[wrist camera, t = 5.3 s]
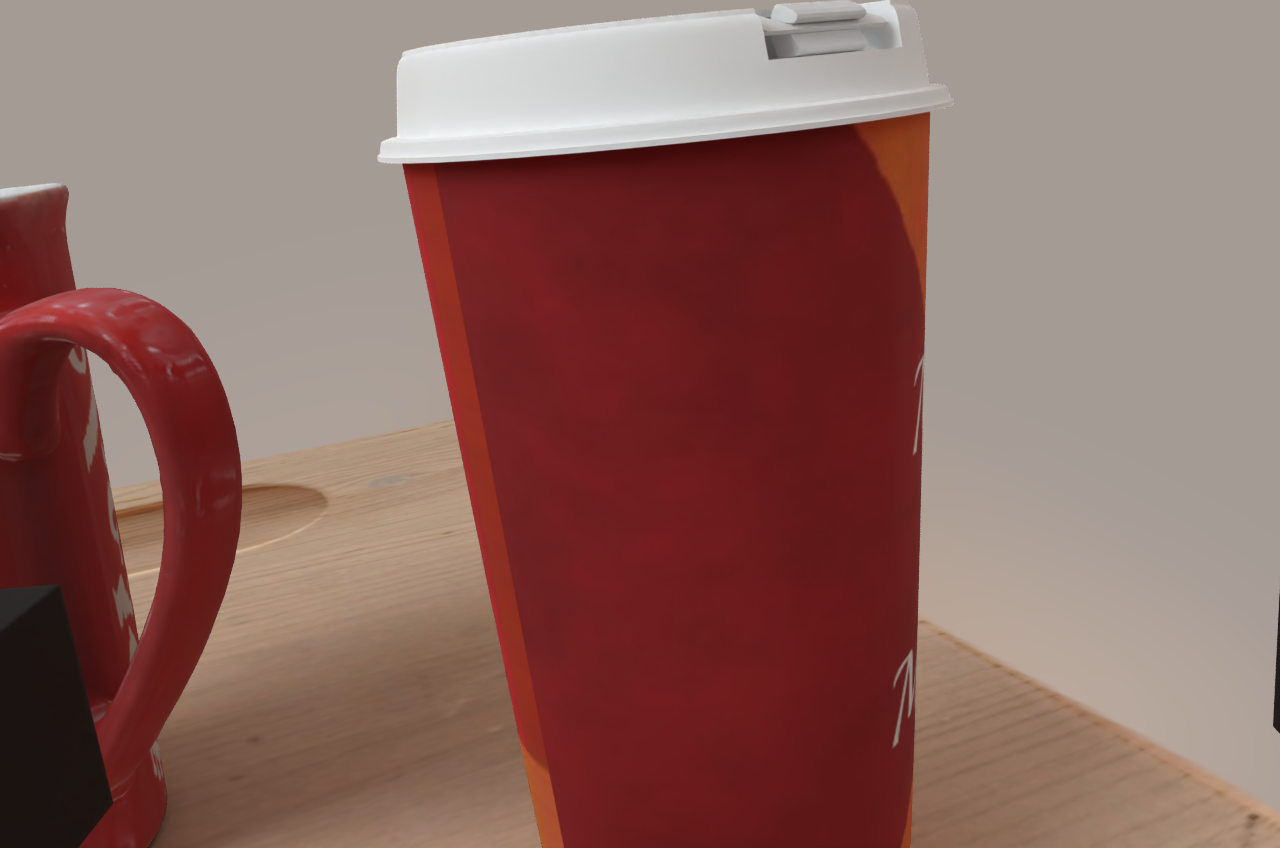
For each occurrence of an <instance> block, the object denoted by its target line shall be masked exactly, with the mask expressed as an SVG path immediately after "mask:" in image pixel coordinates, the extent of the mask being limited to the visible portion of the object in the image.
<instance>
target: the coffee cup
mask: <svg viewBox="0 0 1280 848" xmlns="http://www.w3.org/2000/svg"><path fill="white" fill-rule="evenodd" d="M909 3H910V1H909V0H884V1H877V2H870V3H863V4H857V3H855V2H853V1H849V0H839V1H838V0H837V1H820V2H804V3H787V4H777V5H775V6H774V9H773V10H761V11H755V10H754V8H748V9H736V10H725V11H714V12H704V13H693V14H683V15H672V16H663V17H653V18H643V19H634V20H624V21H615V22H606V23H597V24H588V25H579V26H570V27H562V28H554V29H546V30H537V31H529V32H522V33H513V34H506V35H498V36H491V37H483V38H477V39H470V40H463V41H456V42H450V43H444V44H437V45H432V46H426V47H421V48H416V49H412V50H408V51H405V52H403V53H402V59H401V60H400V61H399V63H398V67H397V137H393V138H390V139H387V140H385V141H382V142H381V146H380V154H379V155H377V160H378V161H379V162H382V163H402V164H403V169H404V174H405V179H406V184H407V189H408V194H409V199H410V204H411V209H412V214H413V219H414V224H415V228H416V233H417V238H418V243H419V248H420V253H421V258H422V263H423V268H424V273H425V278H426V282H427V287H428V292H429V297H430V302H431V307H432V312H433V317H434V322H435V327H436V332H437V337H438V342H439V347H440V352H441V357H442V361H443V366H444V371H445V376H446V381H447V386H448V391H449V396H450V400H451V406H452V411H453V416H454V421H455V426H456V431H457V436H458V440H459V445H460V450H461V455H462V460H463V465H464V470H465V475H466V480H467V485H468V490H469V495H470V500H471V505H472V510H473V515H474V520H475V525H476V530H477V534H478V539H479V544H480V549H481V554H482V559H483V564H484V569H485V574H486V579H487V584H488V589H489V594H490V599H491V603H492V608H493V613H494V618H495V623H496V628H497V633H498V637H499V642H500V647H501V652H502V657H503V662H504V667H505V671H506V676H507V681H508V686H509V691H510V696H511V701H512V706H513V710H514V715H515V720H516V725H517V730H518V735H519V739H520V744H521V749H522V754H523V758H524V763H525V768H526V773H527V777H528V782H529V787H530V792H531V796H532V801H533V806H534V811H535V815H536V820H537V825H538V829H539V834H540V839H541V844H542V848H910V843H911V823H912V794H913V763H914V732H915V700H916V663H917V626H918V589H919V585H918V584H919V551H920V510H921V509H920V507H921V467H922V466H921V465H922V422H923V382H924V340H925V338H924V337H925V298H926V258H927V257H926V255H927V217H928V175H929V172H928V171H929V134H930V111H935V110H939V109H943V108H948V107H950V106H953V105H955V104H954V103H955V102H954V99H953V98H950V92H949V89H948V87H947V86H946V85H943V84H930V82H929V76H928V70H927V65H926V58H925V53H924V47H923V41H922V35H921V30H920V25H919V19H918V16H917V13H916V11H915V9H914V8H913V7H911V6H910V4H909Z"/></svg>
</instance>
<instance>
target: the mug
mask: <svg viewBox="0 0 1280 848" xmlns="http://www.w3.org/2000/svg"><path fill="white" fill-rule="evenodd" d="M68 196H69V192H68V189H67V187H66V186H65V185H63V184H59V183H49V184H40V185H31V186H23V187H13V188H4V189H0V589H6V588H19V587H32V586H44V585H57V584H60V586H61V590H62V594H63V598H64V603H65V607H66V611H67V615H68V619H69V623H70V627H71V631H72V635H73V639H74V643H75V647H76V652H77V656H78V660H79V664H80V668H81V672H82V676H83V680H84V684H85V688H86V692H87V697H88V701H89V705H90V709H91V713H92V717H93V721H94V725H95V729H96V733H97V737H98V742H99V746H100V750H101V754H102V758H103V762H104V766H105V770H106V774H107V778H108V782H109V786H110V791H111V795H112V799H113V805H112V806H111V807H110V808H109V810H108V811H107V812H106V813H105V815H104V816H103V817H102V818H101V820H100V821H99V822H98V824H97V825H96V826H95V827H94V829H93V830H92V831H91V832H90V834H89V835H88V836H87V838H86V839H85V840H84V841H83V843H82V844H81V845H80V846H79V848H147V846H148V845H149V844H150V842H151V841H152V840H153V838H154V837H155V835H156V833H157V831H158V829H159V827H160V825H161V823H162V820H163V818H164V815H165V811H166V804H167V791H166V786H165V780H164V773H163V768H162V762H161V757H160V752H159V748H158V742H157V737H158V735H159V733H160V731H161V729H162V727H163V725H164V723H165V722H166V720H167V718H168V717H169V715H170V713H171V711H172V710H173V708H174V706H175V704H176V703H177V701H178V699H179V697H180V696H181V694H182V692H183V690H184V688H185V686H186V684H187V682H188V680H189V678H190V677H191V675H192V673H193V671H194V669H195V667H196V665H197V663H198V660H199V658H200V656H201V654H202V652H203V650H204V647H205V645H206V643H207V640H208V638H209V635H210V633H211V630H212V627H213V625H214V622H215V619H216V617H217V614H218V611H219V609H220V606H221V603H222V601H223V598H224V595H225V592H226V588H227V585H228V582H229V578H230V575H231V571H232V567H233V564H234V560H235V554H236V549H237V544H238V538H239V533H240V522H241V509H242V474H241V462H240V453H239V447H238V441H237V435H236V429H235V425H234V421H233V418H232V414H231V410H230V407H229V403H228V400H227V396H226V394H225V391H224V388H223V386H222V383H221V381H220V378H219V376H218V373H217V371H216V369H215V367H214V365H213V363H212V361H211V359H210V358H209V356H208V354H207V353H206V351H205V349H204V348H203V346H202V344H201V343H200V341H199V340H198V338H197V337H196V336H195V334H194V333H193V331H192V330H191V329H190V328H189V327H188V326H187V325H186V324H185V323H184V322H183V321H182V320H181V319H179V318H178V317H177V316H176V315H174V314H173V313H172V312H171V311H169V310H168V309H167V308H165V307H164V306H162V305H161V304H159V303H157V302H155V301H153V300H151V299H149V298H147V297H145V296H143V295H140V294H137V293H134V292H131V291H126V290H121V289H116V288H84V289H79V290H76V287H75V281H74V276H73V271H72V266H71V261H70V255H69V249H68V244H67V236H66V227H65V219H66V209H67V203H68ZM86 349H88V350H90V351H91V352H93V353H95V354H97V355H98V356H99V357H100V358H102V359H103V360H104V361H105V362H107V363H108V364H109V366H110V368H111V369H112V371H113V372H114V373H115V374H116V375H118V376H119V377H120V379H121V380H122V381H123V382H124V384H125V385H126V386H127V388H128V389H129V391H130V393H131V394H132V396H133V398H134V400H135V402H136V404H137V406H138V408H139V409H140V411H141V413H142V416H143V418H144V421H145V423H146V426H147V428H148V431H149V434H150V438H151V441H152V444H153V448H154V451H155V454H156V458H157V461H158V466H159V471H160V482H161V486H162V491H163V509H164V544H163V552H162V561H161V568H160V573H159V579H158V583H157V588H156V592H155V597H154V600H153V603H152V606H151V609H150V612H149V614H148V617H147V620H146V623H145V626H144V629H143V632H142V635H141V637H140V640H138V634H137V628H136V621H135V615H134V609H133V604H132V600H131V595H130V589H129V583H128V576H127V571H126V567H125V561H124V556H123V550H122V545H121V539H120V534H119V529H118V523H117V518H116V512H115V507H114V502H113V497H112V491H111V487H110V481H109V475H108V470H107V464H106V459H105V452H104V445H103V439H102V434H101V428H100V422H99V416H98V410H97V405H96V400H95V395H94V391H93V385H92V380H91V374H90V368H89V363H88V357H87V351H86Z"/></svg>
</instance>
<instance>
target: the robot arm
mask: <svg viewBox="0 0 1280 848" xmlns="http://www.w3.org/2000/svg"><path fill="white" fill-rule="evenodd" d="M1273 726H1274V728H1275V729H1276V730H1277V731H1278V732H1279V733H1280V596H1279V617H1278V637H1277V657H1276V679H1275V700H1274V720H1273ZM112 805H113V799H112V795H111V791H110V786H109V782H108V778H107V774H106V770H105V766H104V762H103V758H102V754H101V750H100V746H99V742H98V737H97V733H96V729H95V725H94V721H93V717H92V713H91V709H90V705H89V701H88V697H87V692H86V688H85V684H84V680H83V676H82V672H81V668H80V664H79V660H78V656H77V652H76V647H75V643H74V639H73V635H72V631H71V627H70V623H69V619H68V615H67V611H66V607H65V603H64V598H63V594H62V590H61V586H60V584H57V585H44V586H32V587H19V588H6V589H0V848H79V846H80V845H81V844H82V843H83V841H84V840H85V839H86V838H87V836H88V835H89V834H90V832H91V831H92V830H93V829H94V827H95V826H96V825H97V824H98V822H99V821H100V820H101V818H102V817H103V816H104V815H105V813H106V812H107V811H108V810H109V808H110V807H111V806H112Z"/></svg>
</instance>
